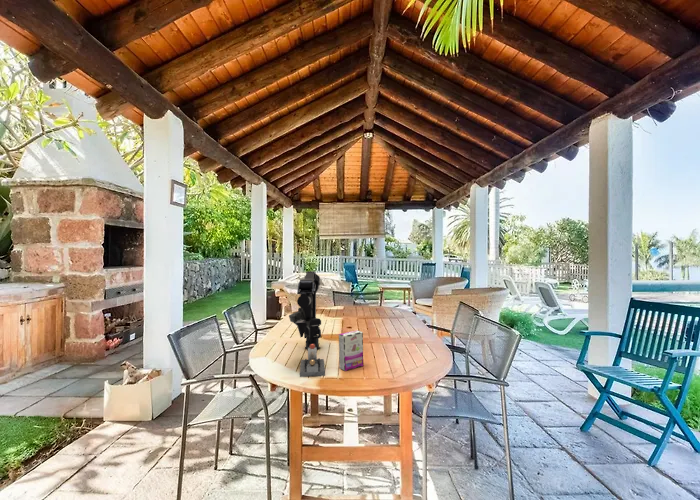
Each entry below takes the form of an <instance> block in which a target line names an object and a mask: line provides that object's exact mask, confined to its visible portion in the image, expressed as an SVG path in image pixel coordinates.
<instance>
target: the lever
mask: <svg viewBox="0 0 700 500" xmlns="http://www.w3.org/2000/svg"><path fill="white" fill-rule="evenodd" d="M317 351H318V349H317V347H315V344H310V346H309V347H308V349H307V360H308V363H309V362H310V360H311V359H314V360H315V363H317V359H318V356H317V355H318V352H317Z"/></svg>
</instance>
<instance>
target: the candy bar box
mask: <svg viewBox="0 0 700 500" xmlns="http://www.w3.org/2000/svg"><path fill="white" fill-rule="evenodd" d="M338 360H339V361H338V364H339V367H338V368H339V369H340V370H342V371H343V372H347V371H350V370H354V369H358V368H361V367H364V332H363V331H361V330H353V331H347V332H342V333H339V334H338Z"/></svg>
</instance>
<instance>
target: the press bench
mask: <svg viewBox="0 0 700 500" xmlns="http://www.w3.org/2000/svg"><path fill="white" fill-rule="evenodd" d="M325 368H326V367H325V360H324V358H318V357H317V363H315V360H314V359H311V360H310V362H309V363H308V358H305V359H300V367H299V377H301V378H302V377H303V378H305V377H323V376H326V370H325Z"/></svg>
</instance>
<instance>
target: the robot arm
mask: <svg viewBox="0 0 700 500" xmlns="http://www.w3.org/2000/svg"><path fill="white" fill-rule="evenodd" d="M320 286H321V277H320V276H319V275H318V274H317V273H316V271H311V270H310V271H306V272H305V275H304V278H301V279H300V280H299V281H298V283H297V293H296V294H297V295H300V296H299V297H298V298H297V301H296V302H297V303H296V304H297V305H298V306H299V307H298V308H297V309H298V310H297V311H295V312H293V313H291V314H289V315H288V317H289V321H290V322H291V323H293V324H294V325H295V326H297V329H298V333H299V337H300V338H304V339H305V346H304V349H306V350H308V347H309V346H310V344H315V347H317V350H319V349H321V346H319V345H320V343H319V342H320V340H319V339H321V338H322V331H321V330H322V329H321V327H320V326H321V325H322V320H321V319H320V318H317V292H318V291H319V289H320Z"/></svg>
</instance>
